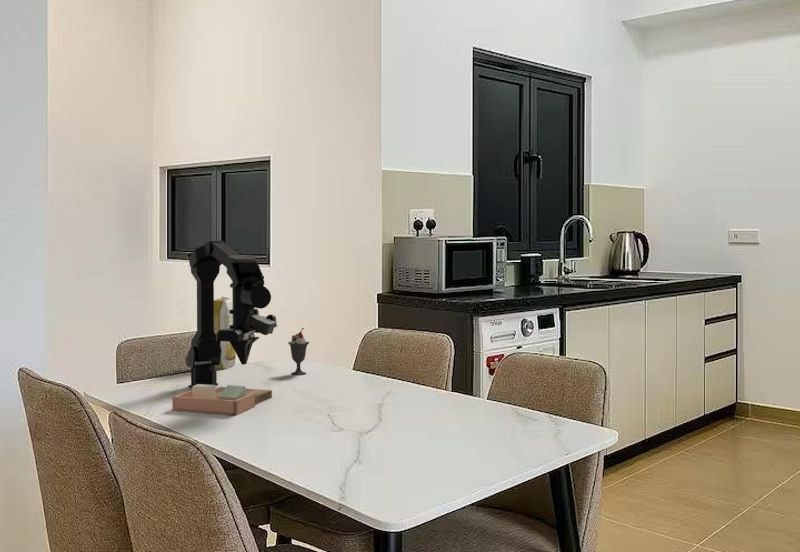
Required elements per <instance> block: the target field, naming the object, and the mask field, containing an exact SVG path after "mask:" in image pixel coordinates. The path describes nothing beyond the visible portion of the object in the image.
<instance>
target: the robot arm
mask: <svg viewBox="0 0 800 552" xmlns="http://www.w3.org/2000/svg"><path fill="white" fill-rule="evenodd" d="M188 263H189V268H190V273H191V275H192V277H193V278H194V279H195V281H196V332H195V333H194V335H193V337H192V338H191V341H190V342H191V343H190V344H191V345H190V348H189V350H188V353H187V355H186V357H185V363H186V364H185V365H186V367H188V368H190V384H189V385H187V387H188V388H191V389H192V386H194V385H197V384H205V385H216V386H218V385H219V383H218V382H217V379H218V377H217V373H218V372H217V370H216V368H215V365H220V359H221V353H222V350H221V346H220V343H221V341H229V342H230V343H231V345H232V347H233V348H234V350H235V352H236V357H237V358H238V359H239V362H240V364H241V365H246V364H247V363H248V360H249V356H250V353H251V350H252V347H253V344H254V343H255V342H256V341H257V340H259V339H260V336H255V333H256V334H261V335H263V336H268V335H269V334H270V335H272V334H273V332H274V329H275V328H277V327H278V324H277V323H278V321H277V319H276V318H277V317H276V315H274V314H272V313H269V314H268V315H267V316H262V315H260V313H259V309H261V310H262V309H265V308H266V307H268V306H269V304H270V303H271V301H272V294H271V292H270V290H269V288H267V287H266V286H265V280H264V279H265V276H264V275H263V273H262V271H261V268H260V265H259V262H258V261H257V259H255V257H251V256H245V255H241V254H239V253H238V252H236V250H234V249H233V248H231V247H230V246H228V244H226V242H225V240H208V241H206V242H205V243H204V245H202V246H200V247H198V248H195V249H194V250H193V251H192V253H191V254H190V256H189V258H188ZM222 265H223V266H224V267H225V268H226V274H227V276H228V277H229V278H230V280H231V283H230V285H229V287H230V288H231V289H232V296H231V297H232V298H231V299H232V300H233V309H232V310H229V314H233V325H230V329H222V330H219V331H218V332H217V333H216V334H215V332H214V300H215V281H216V279H217V278H218V276H219V274H220V270H221V269H220V268H221V266H222Z"/></svg>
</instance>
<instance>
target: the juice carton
mask: <svg viewBox="0 0 800 552" xmlns="http://www.w3.org/2000/svg"><path fill="white" fill-rule="evenodd" d="M232 309H233V300H232V298H230V296H228V295H221V298H214V332H215V334H216V333H217V332H218V331H219V330H222V329H230V325H233V314H229V310H232ZM220 346H221V350H222V353H221V359H220V365H215V369H222V370H223V369H228V368H232V367H234V366H235V364H236V357H237V354H236V352H235V350H234V348H233V347H232V345H231V343H230V342H229V341H221V343H220Z"/></svg>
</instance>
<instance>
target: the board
mask: <svg viewBox="0 0 800 552" xmlns="http://www.w3.org/2000/svg"><path fill="white" fill-rule="evenodd" d="M226 387H227V386H219V387H216V397H218V398H219V396H220V395H221V393H222V392H223V391H224V389H225V388H226ZM246 392H247V395H249V394H252V393H253V394H255V406H257V405H258V404H260V403H263V402H265V401H268V400H269V399H271V398H273V396H272V395H273V390H272V389H259V388H257V389H255V388H246Z"/></svg>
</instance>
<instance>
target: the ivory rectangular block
mask: <svg viewBox="0 0 800 552" xmlns="http://www.w3.org/2000/svg"><path fill="white" fill-rule="evenodd" d="M216 386H217V385H205V384H197V385H194V386H192V388H191V390H192V398H206V399H216V388H217V387H216Z"/></svg>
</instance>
